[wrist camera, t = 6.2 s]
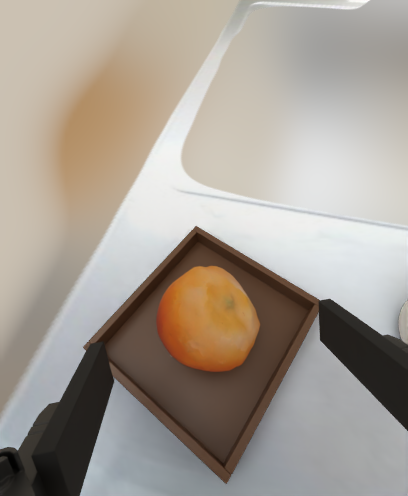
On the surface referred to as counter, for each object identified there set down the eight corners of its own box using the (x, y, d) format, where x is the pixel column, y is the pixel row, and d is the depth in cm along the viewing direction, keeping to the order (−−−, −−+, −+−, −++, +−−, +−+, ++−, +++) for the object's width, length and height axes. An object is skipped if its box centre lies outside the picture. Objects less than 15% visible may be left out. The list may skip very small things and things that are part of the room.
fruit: (137, 291, 25) (174, 245, 19) (210, 296, 28) (258, 260, 23) (139, 388, 20) (186, 367, 15) (224, 379, 24) (286, 360, 19)
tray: (224, 476, 19) (226, 484, 17) (93, 352, 24) (82, 347, 22) (314, 311, 25) (324, 302, 23) (196, 238, 30) (196, 225, 28)
